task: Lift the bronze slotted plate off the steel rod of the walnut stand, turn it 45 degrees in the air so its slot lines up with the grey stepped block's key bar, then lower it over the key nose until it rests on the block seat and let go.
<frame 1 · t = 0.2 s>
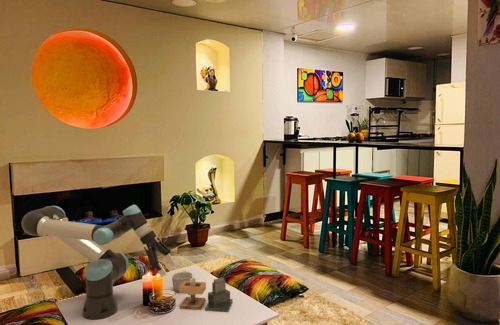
hand: (169, 270, 189), 16 cm above the table, tool tilted 35°, fingers open, 13 cm apart
teacup: (183, 288, 208), on the table
stand: (193, 304, 188), on the table
clutch plate: (192, 290, 188), point 7 cm above the table, touching stand
grey stepped block: (219, 306, 186), on the table
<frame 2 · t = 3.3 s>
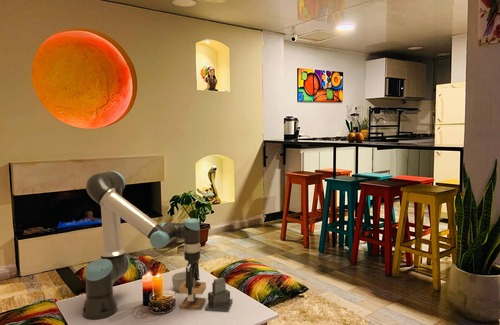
hand: (192, 297, 188), 4 cm above the table, tool pointing down, fingers closed on clutch plate, 7 cm apart
clutch plate: (192, 290, 188), point 7 cm above the table, touching gripper, stand
everything else where it was.
when the fingers open (5 cm above the table, at t = 10.3 s): clutch plate stays where it is, resting on grey stepped block.
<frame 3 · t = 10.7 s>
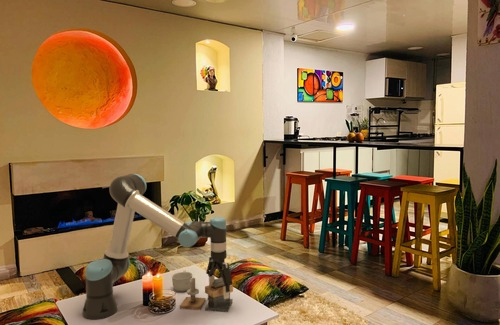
hand: (219, 293, 186), 6 cm above the table, tool pointing down, fingers open, 12 cm apart
clutch plate: (219, 292, 186), point 7 cm above the table, touching grey stepped block
everything else where it was.
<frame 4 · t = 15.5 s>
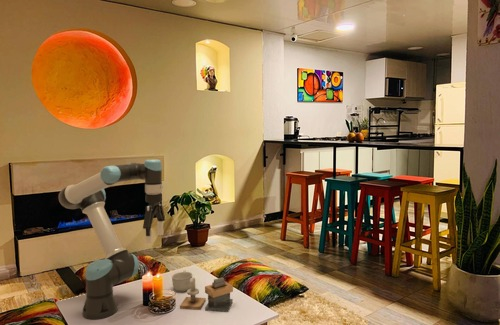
hand: (154, 238, 179), 35 cm above the table, tool pointing down, fingers open, 13 cm apart
nothing on the table moved.
at the end: clutch plate 0.0 cm off-centre on the grey stepped block, point 7.0 cm above the grey stepped block's base; clutch plate tilted 0°; the gripper is holding nothing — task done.
